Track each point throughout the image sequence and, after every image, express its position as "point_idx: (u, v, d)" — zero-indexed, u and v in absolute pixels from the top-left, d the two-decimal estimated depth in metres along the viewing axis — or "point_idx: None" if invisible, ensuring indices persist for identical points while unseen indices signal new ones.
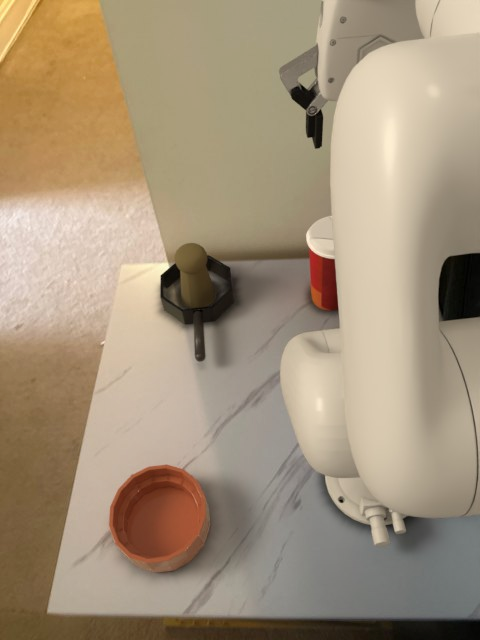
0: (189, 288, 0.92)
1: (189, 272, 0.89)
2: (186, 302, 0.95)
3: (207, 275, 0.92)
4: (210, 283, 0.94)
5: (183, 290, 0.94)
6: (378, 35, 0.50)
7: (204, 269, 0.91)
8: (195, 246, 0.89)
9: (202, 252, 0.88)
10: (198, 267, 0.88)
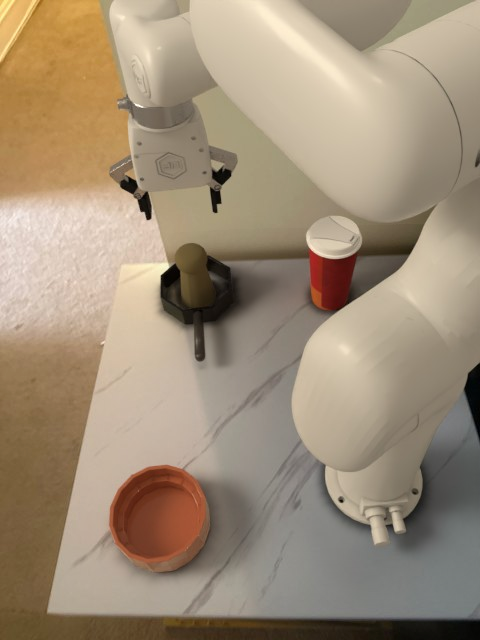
0: (189, 288, 0.92)
1: (189, 272, 0.89)
2: (186, 302, 0.95)
3: (207, 275, 0.92)
4: (210, 283, 0.94)
5: (183, 290, 0.94)
6: (167, 152, 0.71)
7: (204, 269, 0.91)
8: (195, 246, 0.89)
9: (202, 252, 0.88)
10: (198, 267, 0.88)
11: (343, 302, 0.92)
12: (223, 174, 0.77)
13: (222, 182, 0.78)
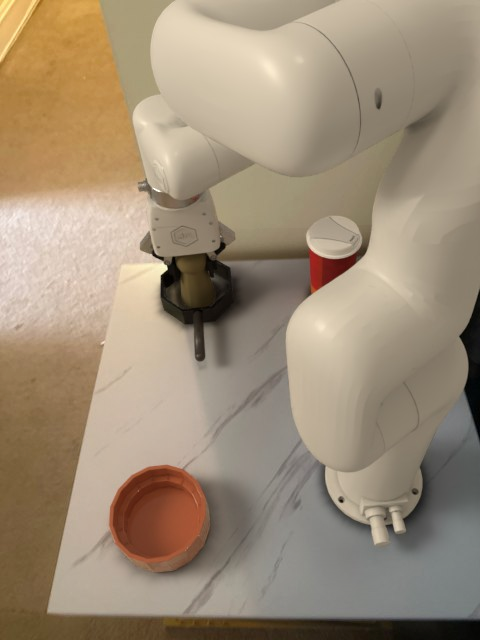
0: (189, 288, 0.92)
1: (189, 272, 0.89)
2: (186, 302, 0.95)
3: (207, 275, 0.92)
4: (210, 283, 0.94)
5: (183, 290, 0.94)
6: (180, 225, 0.81)
7: (204, 269, 0.91)
8: None
9: None
10: (198, 267, 0.88)
11: None
12: (218, 246, 0.87)
13: (217, 252, 0.88)
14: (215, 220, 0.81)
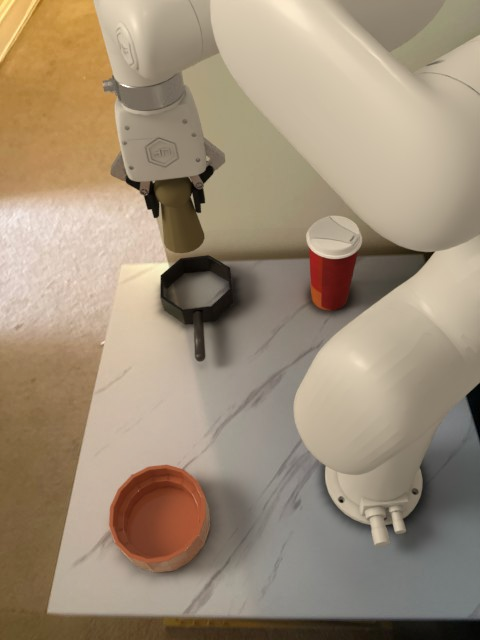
0: (171, 226, 0.78)
1: (170, 203, 0.74)
2: (169, 245, 0.80)
3: (193, 210, 0.78)
4: (197, 221, 0.79)
5: (165, 229, 0.79)
6: (156, 137, 0.66)
7: (189, 202, 0.76)
8: None
9: (185, 179, 0.74)
10: (181, 197, 0.74)
11: (343, 302, 0.92)
12: (205, 171, 0.73)
13: (204, 180, 0.74)
14: (199, 132, 0.67)
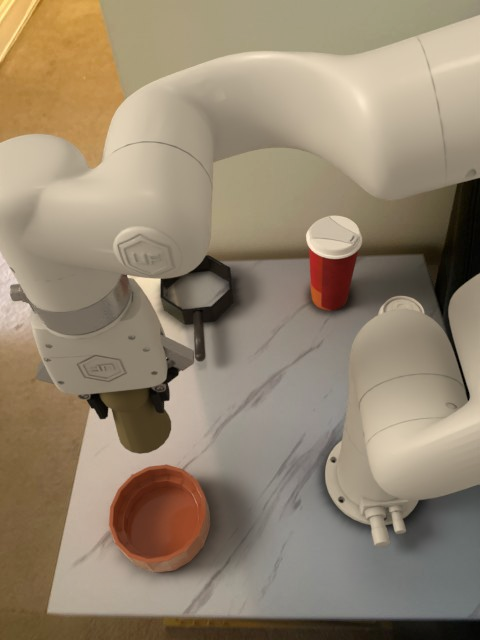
0: (124, 428, 0.58)
1: (120, 411, 0.55)
2: (123, 443, 0.61)
3: (154, 407, 0.58)
4: (160, 416, 0.60)
5: (117, 428, 0.59)
6: (93, 354, 0.46)
7: (147, 401, 0.57)
8: None
9: None
10: (135, 404, 0.54)
11: (343, 302, 0.92)
12: (166, 373, 0.53)
13: (166, 381, 0.54)
14: (154, 344, 0.47)
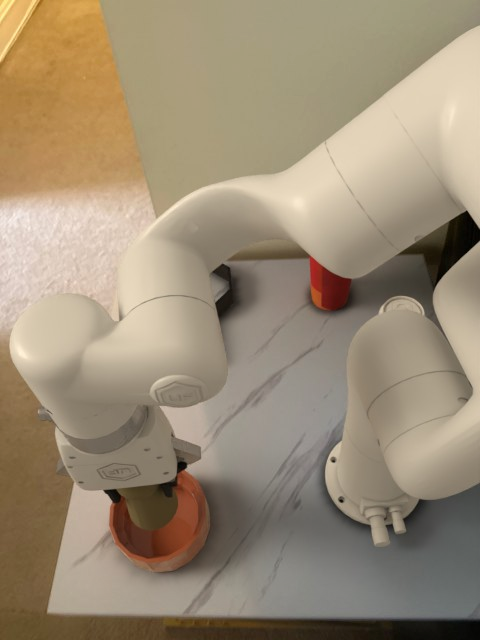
0: (136, 511, 0.63)
1: (133, 499, 0.59)
2: (134, 521, 0.66)
3: None
4: None
5: (128, 508, 0.64)
6: (111, 462, 0.51)
7: (157, 487, 0.62)
8: None
9: None
10: (146, 494, 0.59)
11: (343, 302, 0.92)
12: None
13: None
14: (166, 451, 0.52)
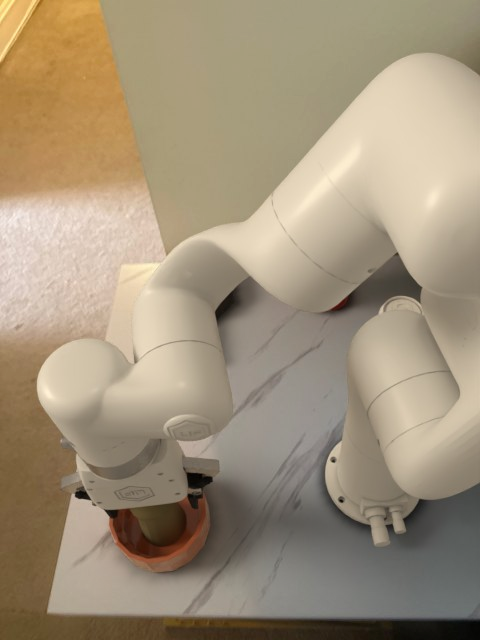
0: (148, 530, 0.68)
1: (146, 520, 0.65)
2: (146, 538, 0.71)
3: (173, 511, 0.68)
4: (178, 517, 0.70)
5: (141, 527, 0.70)
6: (127, 485, 0.56)
7: (168, 508, 0.67)
8: None
9: None
10: (158, 515, 0.64)
11: (343, 302, 0.92)
12: (202, 481, 0.62)
13: (202, 486, 0.63)
14: (178, 474, 0.56)
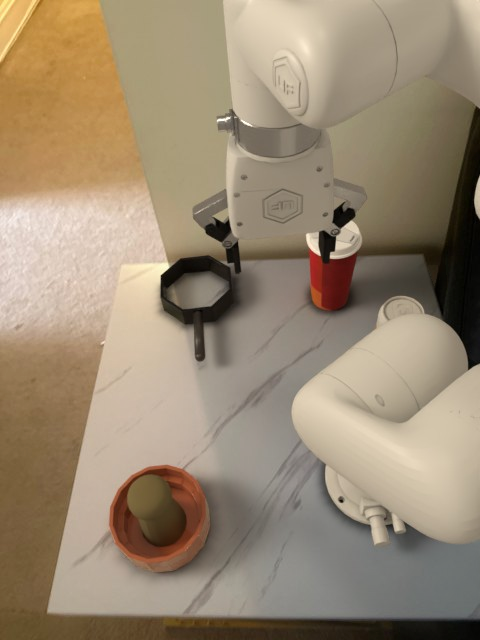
0: (148, 530, 0.68)
1: (146, 520, 0.65)
2: (146, 538, 0.71)
3: (173, 511, 0.68)
4: (178, 517, 0.70)
5: (141, 527, 0.70)
6: (279, 188, 0.51)
7: (168, 508, 0.67)
8: (154, 484, 0.65)
9: (164, 494, 0.64)
10: (158, 515, 0.64)
11: (343, 302, 0.92)
12: (345, 215, 0.57)
13: (341, 225, 0.58)
14: (333, 181, 0.52)
